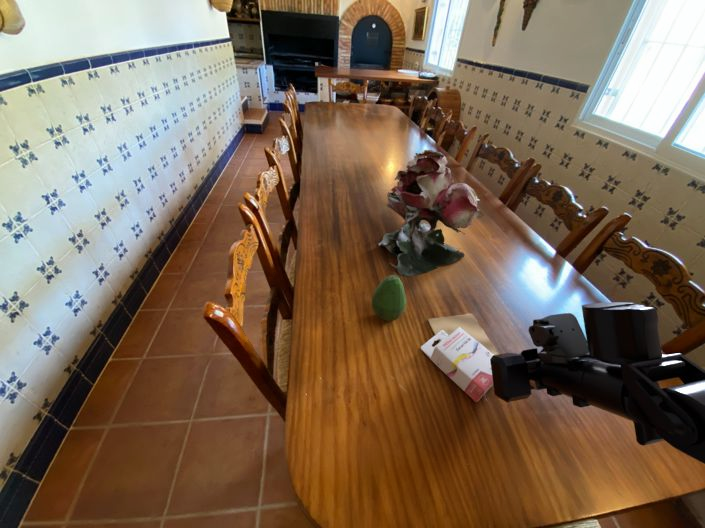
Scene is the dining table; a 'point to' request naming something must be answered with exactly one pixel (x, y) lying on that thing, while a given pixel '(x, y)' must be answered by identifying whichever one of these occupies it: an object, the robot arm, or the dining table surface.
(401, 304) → the avocado
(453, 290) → the dining table surface
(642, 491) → the dining table surface
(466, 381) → the ink cartridge box
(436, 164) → the rose bouquet
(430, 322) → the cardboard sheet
